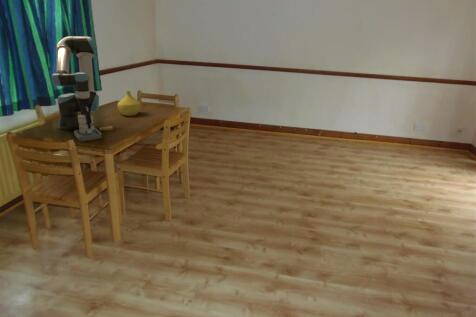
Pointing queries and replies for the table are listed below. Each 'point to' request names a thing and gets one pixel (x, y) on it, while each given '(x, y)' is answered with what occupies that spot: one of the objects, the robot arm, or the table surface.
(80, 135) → the tray
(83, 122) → the ink box
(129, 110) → the yellow rounded bulb
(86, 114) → the robot arm
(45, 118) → the table surface
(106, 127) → the puller tool
